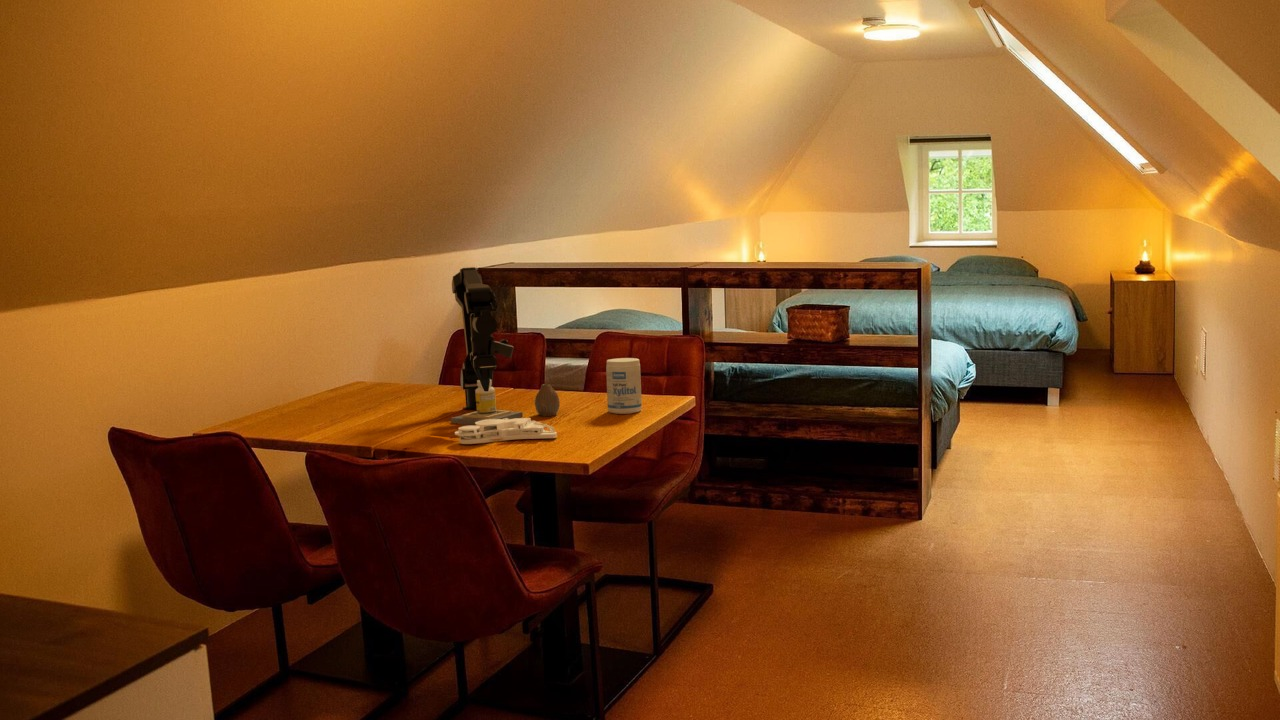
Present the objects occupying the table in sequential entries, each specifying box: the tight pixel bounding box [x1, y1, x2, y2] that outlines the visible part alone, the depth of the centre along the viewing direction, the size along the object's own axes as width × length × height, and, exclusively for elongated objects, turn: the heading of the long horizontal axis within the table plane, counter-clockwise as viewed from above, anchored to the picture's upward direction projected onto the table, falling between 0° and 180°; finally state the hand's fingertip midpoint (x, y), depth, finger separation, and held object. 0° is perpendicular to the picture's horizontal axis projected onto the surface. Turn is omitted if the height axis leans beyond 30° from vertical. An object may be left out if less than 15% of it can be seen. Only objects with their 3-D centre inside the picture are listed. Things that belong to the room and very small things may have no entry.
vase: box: [534, 383, 561, 417], centre depth 311 cm, size 7×7×9 cm
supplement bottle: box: [475, 379, 497, 416], centre depth 307 cm, size 5×5×10 cm
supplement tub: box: [605, 357, 643, 415], centre depth 310 cm, size 10×10×15 cm
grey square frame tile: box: [450, 409, 524, 426], centre depth 308 cm, size 14×14×2 cm
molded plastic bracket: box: [454, 417, 558, 445], centre depth 286 cm, size 23×25×4 cm
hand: (485, 389), depth 306 cm, fingers open, 9 cm apart
